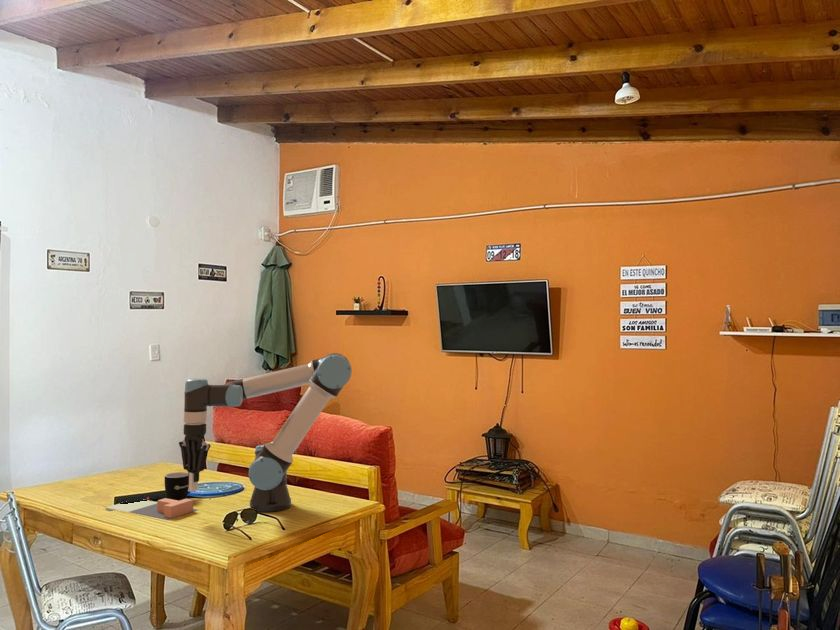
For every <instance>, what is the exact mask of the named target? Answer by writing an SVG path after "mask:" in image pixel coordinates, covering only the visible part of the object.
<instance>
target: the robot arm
mask: <svg viewBox="0 0 840 630" xmlns="http://www.w3.org/2000/svg"><path fill="white" fill-rule="evenodd" d="M352 372H353V370H352V365H351V362H350V361H349V359H348V358H347V357H346V356H345V355H343V354H341V353H338V352H337V353H336V352H333V353H329V354H327V355H326V356H325V355H324V356H322V357H320V358H316V359H312V360H310V362H309V363H307V364H302V365H298V366H294V367H289V368H284V369H279V370H275V371H271V372H268V373H263V374H258V375H255V376H249V377H246V378H242V379H237V380H230V381H227V382H225V383H224V384H209V383H208V380H207V379H206V378H189V379H187V380H186V381H185V385H184V406H183V407H184V409H183V423H184V424H183V435H184V438H183V440H182V441H179V442H178V445H179V447H180V452H181V459H182V467H183V470H184V471H185V470H186V471H187V473H188V481H189V488H188V491H189V492H191V493H193V492H197V491H198V490H199V482H200V472H203V471H205V467H206V464H207V458H208V453H209V450H210V448H211V444H208V443H207V442H206V438H205V435H206V434H207V423H206V422H207V414H208V413H207V412H208V409H207V408H208V407H229V408H233V407H240V406H241V405H242V404H243V400H244V401H245V400H247V399H251V398H255V397H261V396H263V395H269V394H272V393H273V394H274V393H278V392H281V391H286V390H291V389H295V388H299V387H304V386H307V385H309V387H308V388H307V389H306V391H305V393H304V394H303V395H302V397H301V398H300V399H299V402H298V403H297V404H296V406H295V407H294V409H292V412H291V413H290V414H289V416H288V418H287V419H286V421H285V422H284V424H283V425H282V427H281V428H280V429H279V430H278V432H277V434H276V436H275V437H274V438H273V439H272V441H270V442H267V443H266V442H265V444H260V445H257V446H255V449H254V450H255V451H254V456H255V457H254V460H252V462H251V464H249V465H250V466H249V468H248V479H249V481H250V483H251V484H252V485H253V487H254V488H253V491H252V494H251V497H250V500H249V508H254V509H256V510H257V511H256V512H261V513H262V512H263V513H270V512H280V511H285V510H288V509H289V508H291V507H292V498H291V497H290V492H289V489H288V486H287V485H288V483H287V481H288V478H287V477H288V476H287V475H288V470H289V468H290V467H291V465H292V464H293V462H294V459H293V458H294V457H293V455H294V453H295V451H296V450H297V449H298V448H299V446H300V445H301V442H302V441H303V440H304V438H305V437H306V436H307V434H308V432H309V430H310V429H311V428H312V426H313V425H314V424H315V422H316V421H317V419H318V417H319V416H320V414H321V413H322V412H323V410H324V409H325V407H326V406H327V404H328V402H329V401H330V400H331V399H336V398H337V396H338V395H339V393H341V391H342V389H343V388H344V387H345V386H346V385H347V384H348V382H349V381H350V379H351V377H352Z"/></svg>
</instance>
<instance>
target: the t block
mask: <svg viewBox="0 0 840 630" xmlns="http://www.w3.org/2000/svg"><path fill="white" fill-rule="evenodd" d="M156 502H157V512H161V513H164V517H167V518H173V517H176V516H179V515H182V514H185V513H188V512H191V513H193V512H192V511H193V509H194V499H190V498H186V499H183V500H180V501H178V500H172V499H167V498H166V497H164V498H161V499H158V500H157V501H156ZM188 514H189V513H188ZM185 515H186V514H185ZM182 516H183V515H182ZM179 517H180V516H179ZM176 518H177V517H176ZM173 519H174V518H173Z"/></svg>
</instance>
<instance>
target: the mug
mask: <svg viewBox="0 0 840 630" xmlns="http://www.w3.org/2000/svg"><path fill="white" fill-rule="evenodd" d="M164 491H165V498H167V499H172V500H178V501H180V500H183V499H188V495H190V493H192V492H189V481H188V472H184V471H178V472H176V471H175V472H170V473H167V474H165V475H164Z"/></svg>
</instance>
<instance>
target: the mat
mask: <svg viewBox="0 0 840 630" xmlns="http://www.w3.org/2000/svg"><path fill="white" fill-rule="evenodd" d="M146 500H147V501H140V502H134V503H128V504H120V503H117V504H113V505H109V506H106V507H105V510H106V511H110V512H113V511H121V512H125V513H130V514H135V515H140V516H145V517H148V518H149V517H150V518H154V519H161V520H165V521H170V520H172V519H176V518H178V517H182V516H184V515H189V514H190V513H193V512H197V511H198V508H197V509H196V508H193V511H192V512H188V513H185V514H182V515H179V516H176V517H173V518H167V517H164V513H161V512H157V501H153V500H148V499H146Z"/></svg>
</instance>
